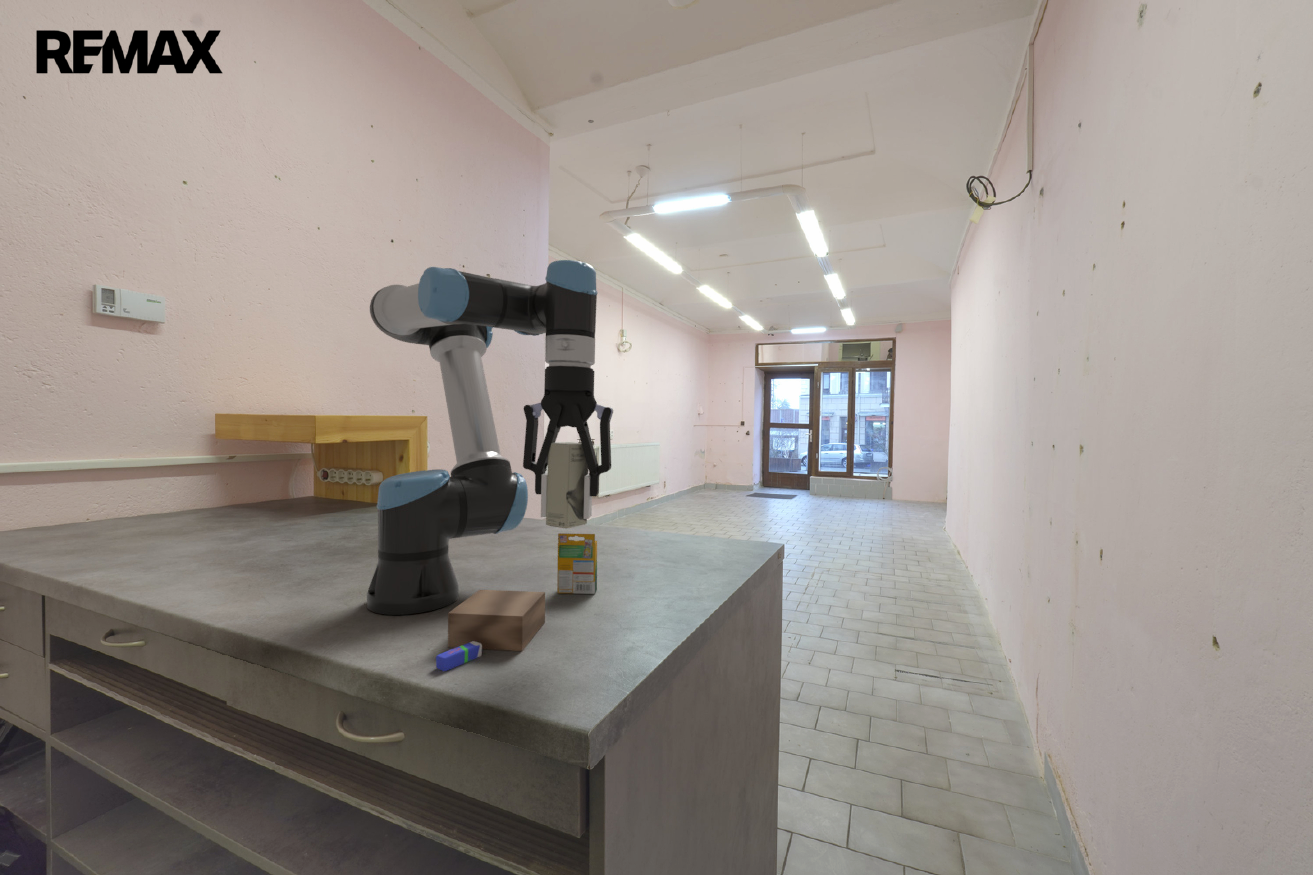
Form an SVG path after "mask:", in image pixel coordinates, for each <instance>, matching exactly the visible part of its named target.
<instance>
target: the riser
mask: <svg viewBox="0 0 1313 875" xmlns="http://www.w3.org/2000/svg"><path fill="white" fill-rule="evenodd" d="M545 623H546V592H544V591H522V590H521V591H520V590H501V589H498V590H497V589H479V590H477V591H476V592H474V593H473V594H472V595H471V596H469V597H468V598H466V599H465V600H464V601H463V602H461V603H460V604H459V605H457V606H456V607H454V608H453V609H452V610H450V611H449V612H448V613H447V648H451V649H454V648H456V647H459V646H462V645H465V644H467V643H470V642H472V641H475V642H478V643H481V645H482V650H490V651H491V650H493V651H495V650H496V651H515V652H523V651H524V649H525V648H527V646H528V645H529V643H530V642H531V641H532V640H533V639H534V637H535V636H536V634H537V633H538V632H539V631H540V630H541V628H542V627H543V626H544V624H545Z"/></svg>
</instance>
